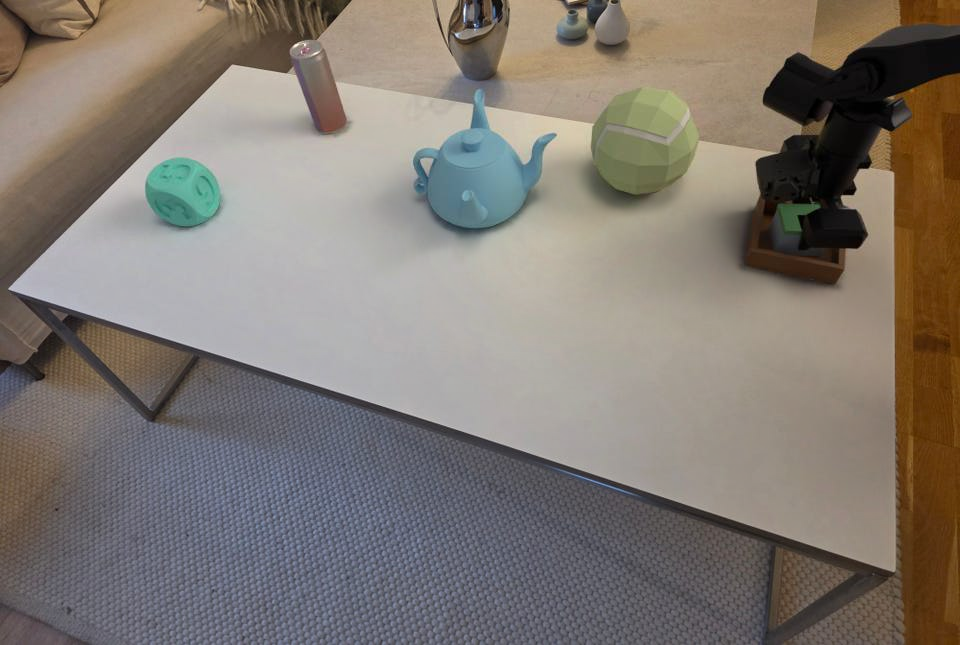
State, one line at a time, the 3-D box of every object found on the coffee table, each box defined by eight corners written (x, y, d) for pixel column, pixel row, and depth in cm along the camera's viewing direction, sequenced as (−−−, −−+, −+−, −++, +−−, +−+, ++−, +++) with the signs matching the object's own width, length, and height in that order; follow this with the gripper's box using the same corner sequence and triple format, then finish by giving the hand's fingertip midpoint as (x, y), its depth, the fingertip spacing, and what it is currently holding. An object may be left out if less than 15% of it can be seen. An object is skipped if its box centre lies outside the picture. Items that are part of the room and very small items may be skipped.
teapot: (559, 195, 94) (561, 130, 84) (474, 260, 87) (465, 197, 77) (485, 150, 102) (479, 86, 92) (402, 206, 95) (386, 143, 85)
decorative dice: (184, 193, 102) (160, 155, 95) (226, 195, 101) (204, 157, 94) (163, 226, 97) (136, 189, 91) (207, 228, 96) (182, 191, 90)
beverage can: (310, 133, 109) (281, 56, 97) (325, 113, 112) (299, 37, 100) (338, 137, 108) (313, 60, 95) (352, 117, 111) (329, 40, 99)
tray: (753, 210, 88) (760, 194, 86) (838, 225, 85) (847, 209, 82) (744, 265, 82) (750, 250, 80) (835, 284, 79) (844, 269, 76)
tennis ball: (610, 141, 100) (619, 58, 88) (697, 164, 95) (720, 79, 83) (574, 197, 93) (579, 114, 81) (666, 225, 88) (687, 141, 76)
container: (812, 229, 84) (826, 203, 80) (820, 257, 81) (835, 231, 77) (767, 229, 85) (778, 203, 81) (773, 255, 82) (785, 230, 78)
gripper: (759, 96, 76) (728, 189, 88) (787, 195, 65) (747, 285, 77) (852, 95, 74) (807, 189, 87) (896, 196, 63) (837, 287, 76)
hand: (797, 235), depth 82 cm, fingers closed on container, 5 cm apart
